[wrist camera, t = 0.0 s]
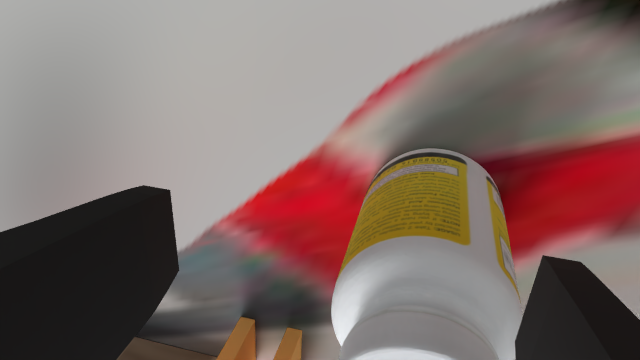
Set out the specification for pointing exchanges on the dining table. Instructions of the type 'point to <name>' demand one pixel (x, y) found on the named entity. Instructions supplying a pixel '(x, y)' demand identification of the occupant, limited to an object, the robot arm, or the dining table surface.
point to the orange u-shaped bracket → (242, 350)
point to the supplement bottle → (428, 266)
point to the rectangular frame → (158, 352)
